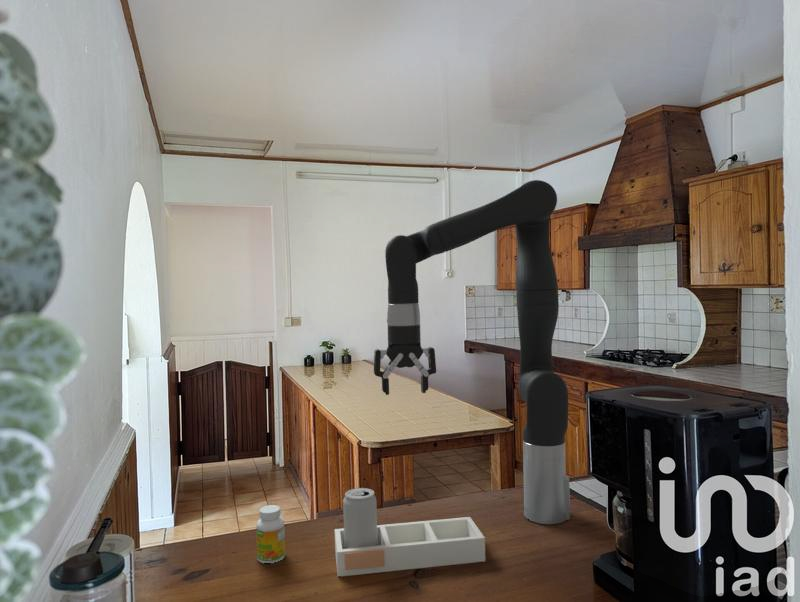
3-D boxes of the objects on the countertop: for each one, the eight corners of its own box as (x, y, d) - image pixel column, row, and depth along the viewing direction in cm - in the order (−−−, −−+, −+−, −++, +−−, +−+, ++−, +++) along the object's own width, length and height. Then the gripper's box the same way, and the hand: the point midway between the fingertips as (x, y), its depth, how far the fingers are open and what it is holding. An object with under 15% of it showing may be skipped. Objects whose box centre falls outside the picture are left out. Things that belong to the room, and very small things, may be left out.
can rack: (470, 538, 116) (470, 516, 116) (486, 562, 106) (485, 538, 106) (335, 551, 111) (334, 529, 111) (337, 577, 101) (337, 553, 101)
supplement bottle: (251, 562, 108) (250, 512, 108) (267, 549, 113) (265, 502, 113) (275, 566, 106) (274, 515, 106) (290, 553, 111) (289, 505, 111)
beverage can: (376, 562, 104) (375, 498, 104) (342, 562, 104) (341, 499, 104) (378, 546, 111) (377, 486, 110) (346, 546, 111) (344, 486, 110)
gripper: (374, 325, 123) (376, 398, 124) (437, 323, 125) (439, 394, 126) (371, 323, 131) (372, 392, 131) (430, 321, 133) (432, 389, 133)
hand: (405, 393), depth 128 cm, fingers open, 8 cm apart
